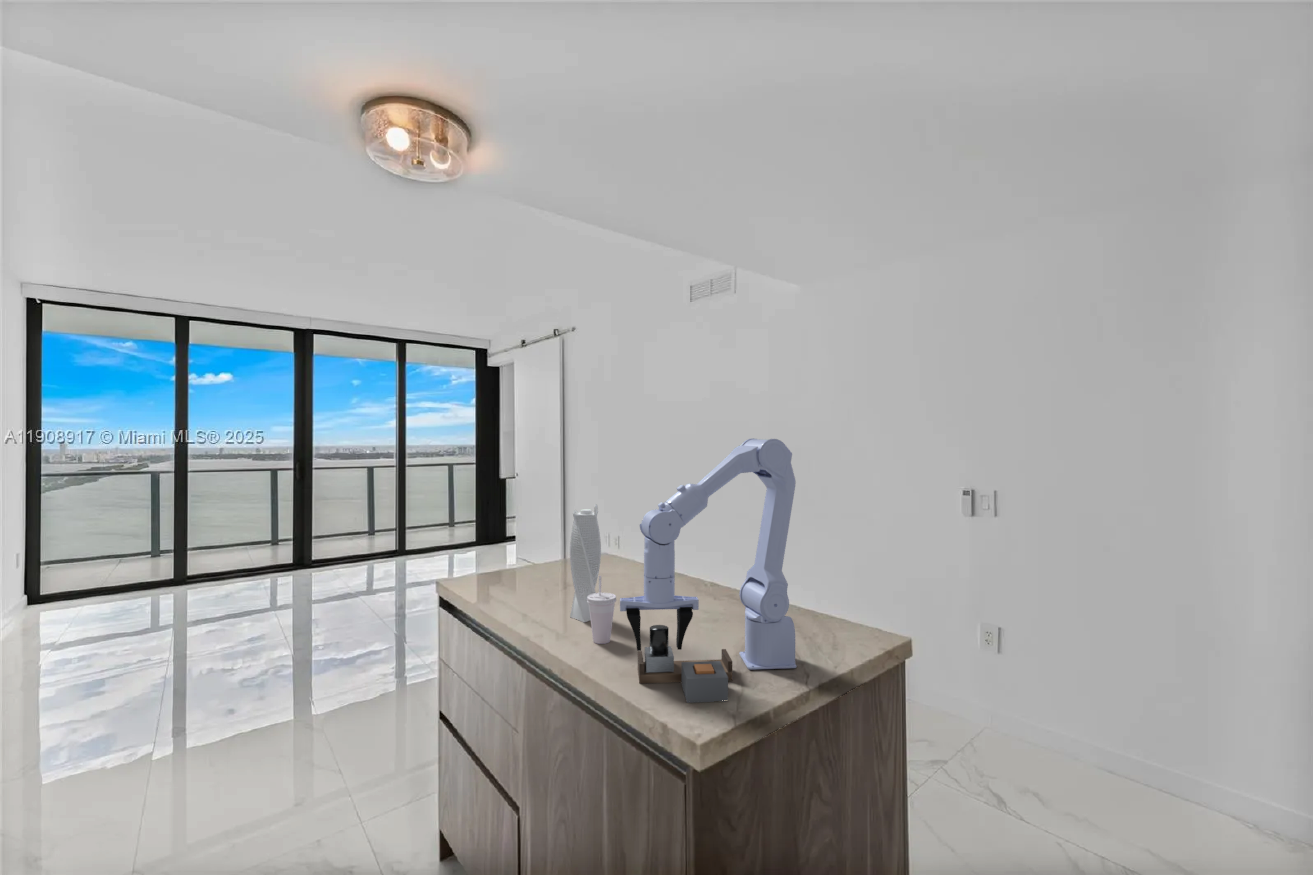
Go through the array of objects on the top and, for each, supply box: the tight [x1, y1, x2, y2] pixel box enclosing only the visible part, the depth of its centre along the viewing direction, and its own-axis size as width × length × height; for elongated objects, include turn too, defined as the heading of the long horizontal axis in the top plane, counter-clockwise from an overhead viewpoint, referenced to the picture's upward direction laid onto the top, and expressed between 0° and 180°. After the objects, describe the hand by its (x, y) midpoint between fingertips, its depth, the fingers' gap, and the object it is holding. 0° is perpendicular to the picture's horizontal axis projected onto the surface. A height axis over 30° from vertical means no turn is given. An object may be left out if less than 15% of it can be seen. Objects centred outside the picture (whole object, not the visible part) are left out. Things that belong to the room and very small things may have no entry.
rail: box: [637, 648, 733, 684], centre depth 106 cm, size 17×6×4 cm, turn 95°
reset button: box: [694, 664, 714, 674], centre depth 99 cm, size 3×3×4 cm
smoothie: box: [587, 575, 617, 645], centre depth 124 cm, size 6×6×14 cm
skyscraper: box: [569, 503, 602, 623], centre depth 140 cm, size 8×8×28 cm
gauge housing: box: [680, 661, 729, 704], centre depth 99 cm, size 7×7×4 cm
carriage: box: [644, 624, 675, 673], centre depth 106 cm, size 5×5×7 cm
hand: (658, 648), depth 106 cm, fingers open, 7 cm apart
